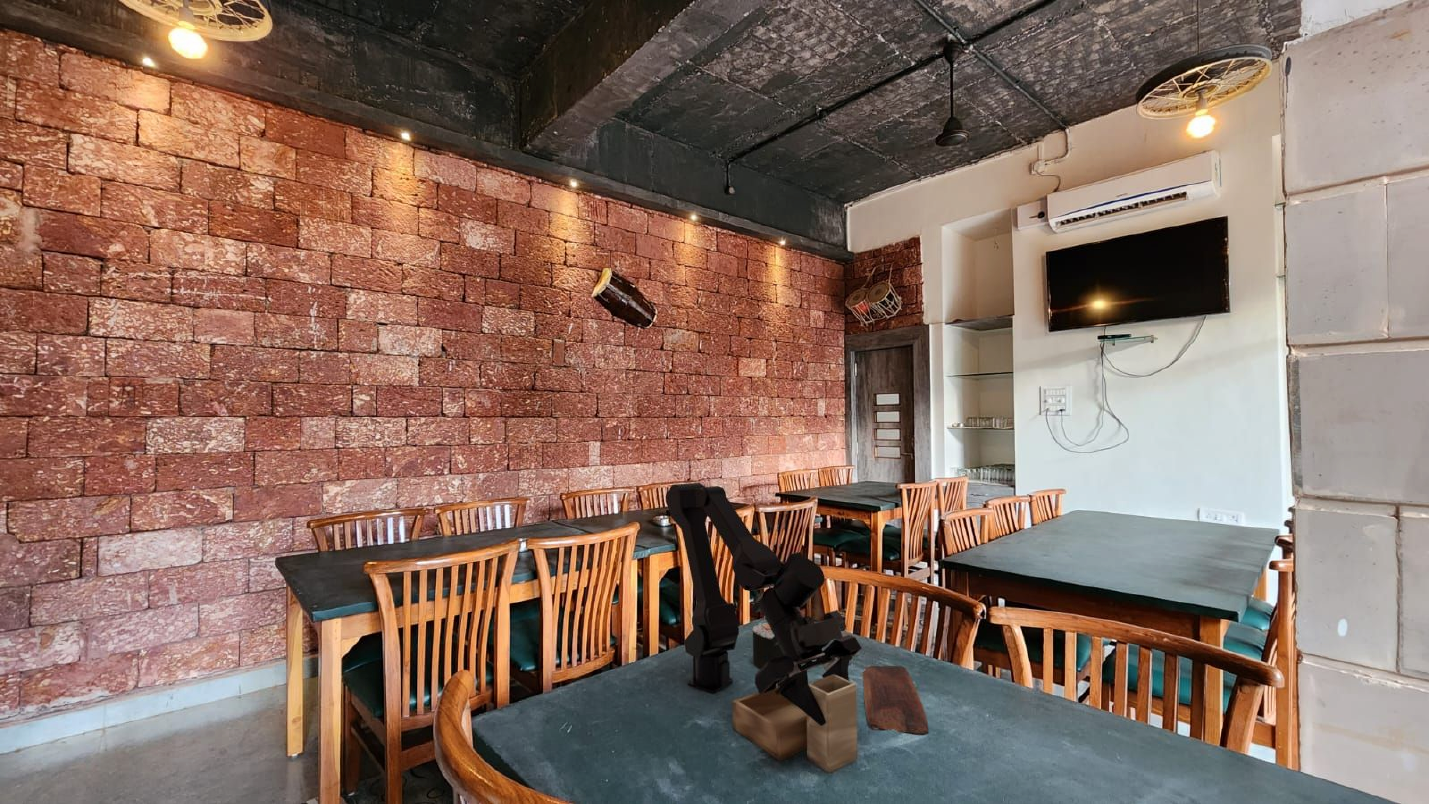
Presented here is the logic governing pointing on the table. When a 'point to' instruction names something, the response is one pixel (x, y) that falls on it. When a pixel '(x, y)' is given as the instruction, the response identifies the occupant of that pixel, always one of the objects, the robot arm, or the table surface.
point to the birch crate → (833, 724)
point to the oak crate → (771, 723)
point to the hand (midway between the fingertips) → (838, 717)
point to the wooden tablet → (893, 701)
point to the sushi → (764, 645)
